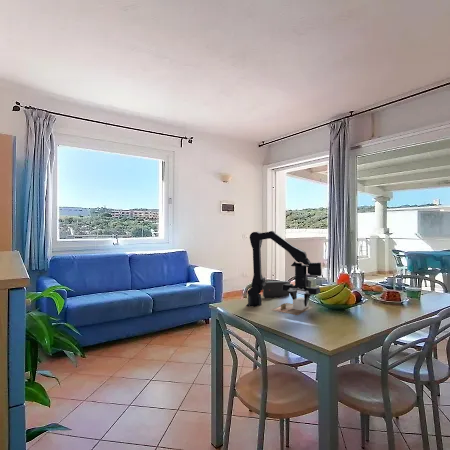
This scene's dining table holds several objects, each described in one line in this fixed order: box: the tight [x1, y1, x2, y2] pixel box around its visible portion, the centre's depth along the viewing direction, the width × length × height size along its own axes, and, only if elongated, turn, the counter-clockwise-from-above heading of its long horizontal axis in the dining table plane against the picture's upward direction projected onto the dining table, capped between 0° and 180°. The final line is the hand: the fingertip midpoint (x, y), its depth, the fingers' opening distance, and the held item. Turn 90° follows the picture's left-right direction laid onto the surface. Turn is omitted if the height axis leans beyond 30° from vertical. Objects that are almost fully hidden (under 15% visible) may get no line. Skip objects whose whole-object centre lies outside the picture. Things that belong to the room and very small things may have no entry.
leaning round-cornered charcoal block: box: [262, 280, 290, 299], centre depth 190 cm, size 16×5×9 cm, turn 99°
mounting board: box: [270, 302, 314, 316], centre depth 160 cm, size 15×18×3 cm
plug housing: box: [292, 296, 310, 310], centre depth 163 cm, size 5×10×4 cm, turn 142°
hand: (300, 305), depth 162 cm, fingers closed on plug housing, 5 cm apart
